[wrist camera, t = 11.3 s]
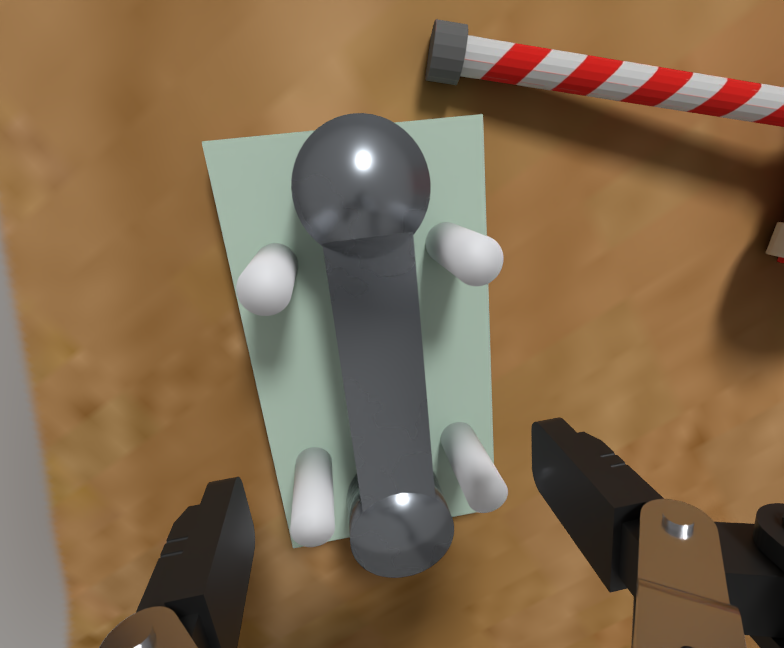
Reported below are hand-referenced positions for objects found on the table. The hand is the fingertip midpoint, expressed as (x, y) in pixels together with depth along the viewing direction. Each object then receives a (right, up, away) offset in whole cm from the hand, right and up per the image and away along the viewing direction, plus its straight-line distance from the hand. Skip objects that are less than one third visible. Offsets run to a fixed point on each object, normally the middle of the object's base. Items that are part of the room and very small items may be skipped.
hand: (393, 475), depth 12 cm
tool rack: (-1, +3, +8) cm, 9 cm away
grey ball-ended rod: (-1, +3, +7) cm, 7 cm away
